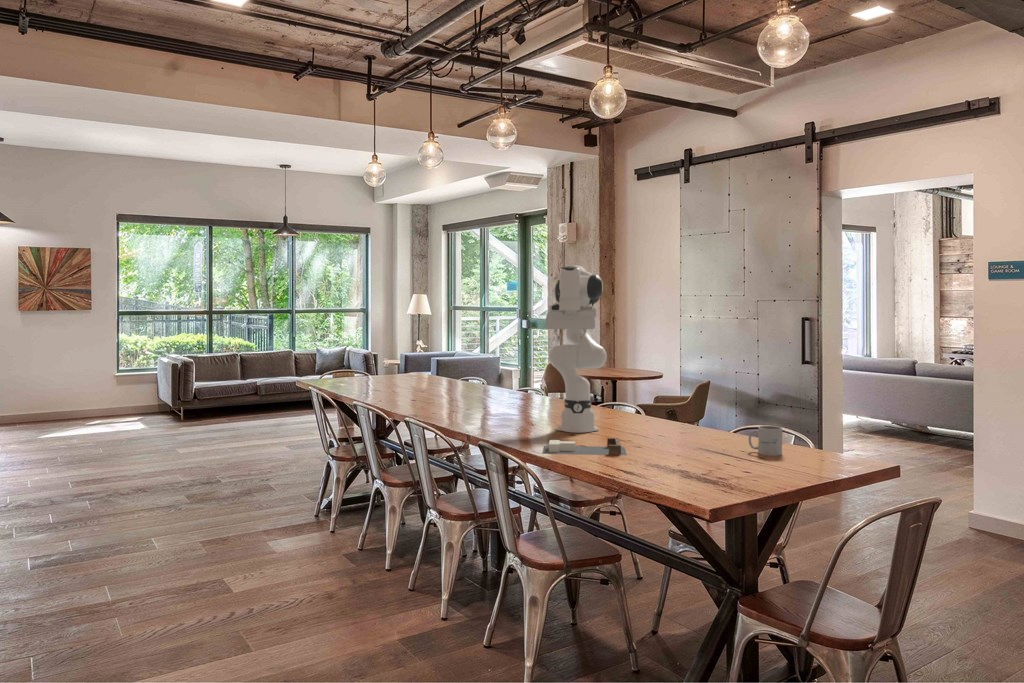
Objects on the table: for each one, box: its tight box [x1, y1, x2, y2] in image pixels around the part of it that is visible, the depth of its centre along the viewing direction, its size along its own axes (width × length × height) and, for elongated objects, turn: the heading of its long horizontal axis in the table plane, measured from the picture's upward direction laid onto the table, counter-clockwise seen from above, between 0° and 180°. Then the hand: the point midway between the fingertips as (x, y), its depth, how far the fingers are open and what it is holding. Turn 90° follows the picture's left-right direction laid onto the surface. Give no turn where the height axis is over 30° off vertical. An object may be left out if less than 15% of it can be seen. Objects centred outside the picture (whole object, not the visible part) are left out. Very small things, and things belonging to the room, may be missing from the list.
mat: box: [541, 445, 628, 456], centre depth 292 cm, size 16×32×1 cm, turn 85°
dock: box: [606, 437, 622, 456], centre depth 290 cm, size 16×4×4 cm, turn 175°
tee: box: [548, 439, 576, 452], centre depth 292 cm, size 9×10×3 cm
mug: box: [748, 425, 783, 457], centre depth 288 cm, size 12×9×10 cm
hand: (570, 340), depth 304 cm, fingers open, 8 cm apart
